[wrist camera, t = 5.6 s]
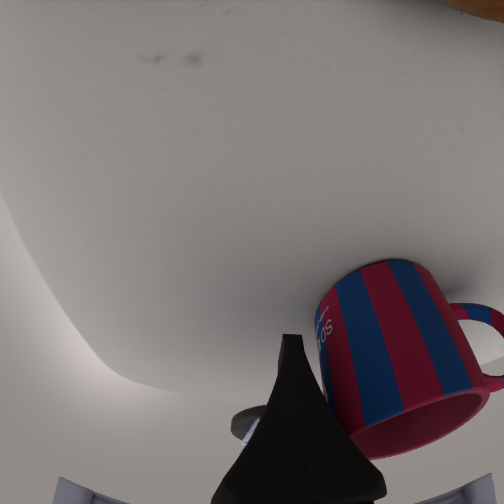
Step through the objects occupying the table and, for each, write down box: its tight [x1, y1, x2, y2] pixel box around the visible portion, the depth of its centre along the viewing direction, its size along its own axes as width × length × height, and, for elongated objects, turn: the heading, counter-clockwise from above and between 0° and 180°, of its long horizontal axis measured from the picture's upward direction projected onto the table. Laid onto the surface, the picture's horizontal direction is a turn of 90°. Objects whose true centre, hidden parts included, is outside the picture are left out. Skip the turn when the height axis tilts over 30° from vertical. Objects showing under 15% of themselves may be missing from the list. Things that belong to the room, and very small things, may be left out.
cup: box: [315, 261, 504, 460], centre depth 11 cm, size 7×10×7 cm
